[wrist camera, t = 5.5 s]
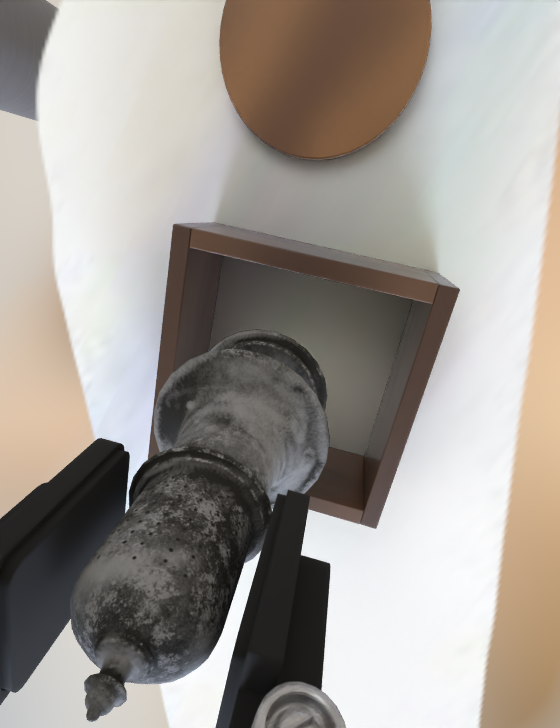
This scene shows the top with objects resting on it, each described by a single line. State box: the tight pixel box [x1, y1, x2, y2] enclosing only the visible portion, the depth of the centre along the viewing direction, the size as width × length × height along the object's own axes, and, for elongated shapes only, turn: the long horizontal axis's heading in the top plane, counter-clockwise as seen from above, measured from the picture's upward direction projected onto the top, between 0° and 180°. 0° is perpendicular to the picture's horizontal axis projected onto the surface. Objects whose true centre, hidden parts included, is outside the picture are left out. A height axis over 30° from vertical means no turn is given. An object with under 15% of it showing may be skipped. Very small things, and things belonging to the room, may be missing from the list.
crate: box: [148, 222, 460, 528], centre depth 21 cm, size 12×12×5 cm
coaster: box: [219, 0, 431, 160], centre depth 19 cm, size 9×9×1 cm
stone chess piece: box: [70, 329, 330, 722], centre depth 12 cm, size 6×6×12 cm
